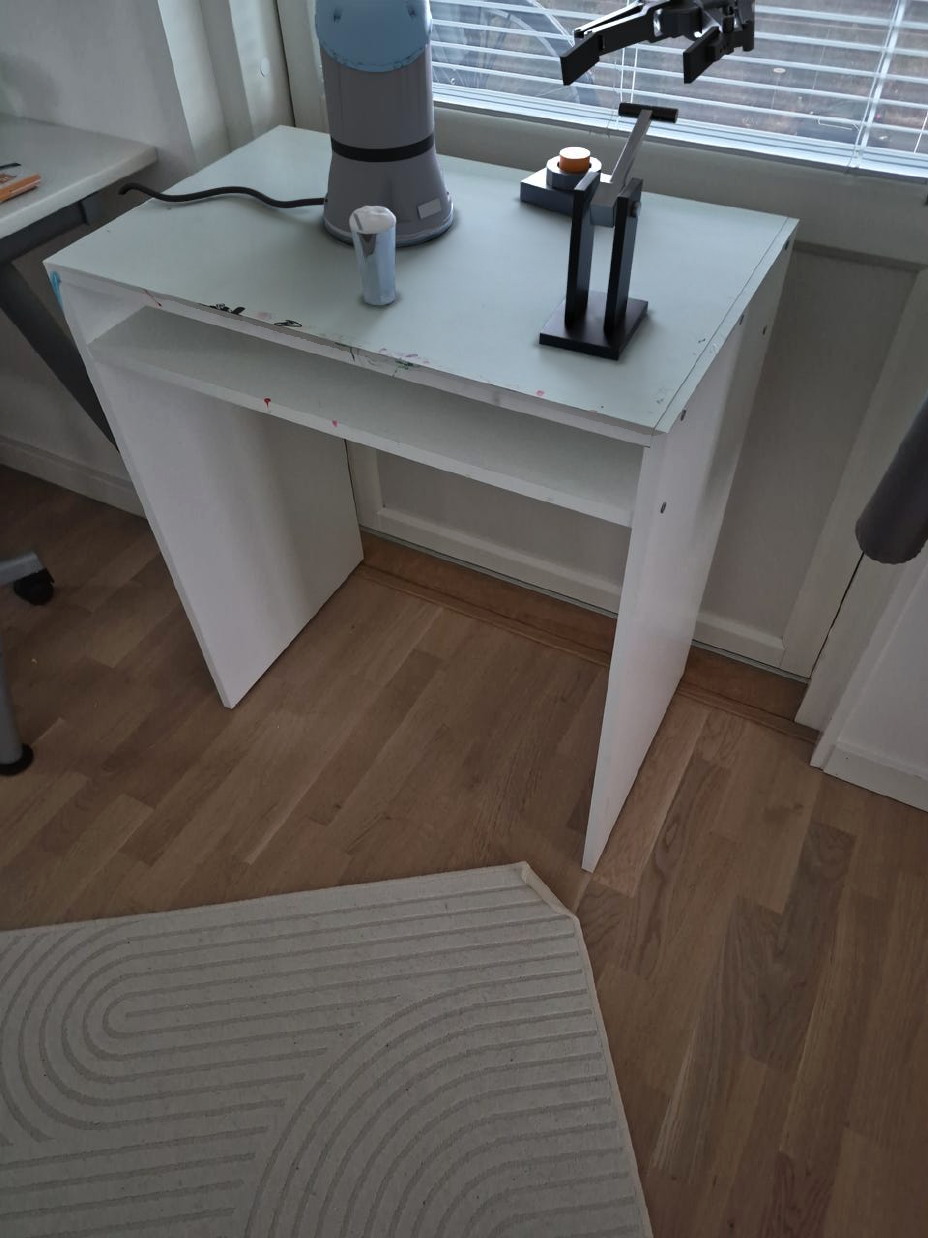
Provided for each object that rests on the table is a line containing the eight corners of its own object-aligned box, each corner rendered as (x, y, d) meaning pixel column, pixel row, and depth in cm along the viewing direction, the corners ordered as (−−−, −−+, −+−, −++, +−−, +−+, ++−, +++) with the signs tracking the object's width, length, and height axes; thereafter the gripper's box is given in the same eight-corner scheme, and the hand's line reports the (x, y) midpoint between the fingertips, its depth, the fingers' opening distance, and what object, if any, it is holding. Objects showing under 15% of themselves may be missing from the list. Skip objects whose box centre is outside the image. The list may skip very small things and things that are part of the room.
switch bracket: (572, 297, 92) (583, 156, 82) (647, 311, 90) (668, 169, 80) (538, 344, 86) (546, 198, 76) (617, 361, 84) (636, 213, 73)
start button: (553, 169, 106) (553, 153, 104) (570, 159, 107) (571, 144, 106) (578, 176, 104) (579, 160, 103) (594, 166, 106) (596, 151, 105)
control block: (519, 199, 108) (520, 165, 106) (557, 178, 113) (559, 145, 110) (587, 220, 104) (590, 185, 101) (624, 198, 108) (628, 163, 105)
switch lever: (621, 115, 85) (621, 92, 83) (677, 123, 83) (679, 99, 81) (572, 221, 80) (571, 200, 78) (631, 231, 79) (631, 209, 77)
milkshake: (345, 307, 91) (333, 208, 84) (371, 284, 95) (362, 187, 87) (384, 316, 90) (375, 217, 83) (409, 292, 93) (402, 195, 86)
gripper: (826, 24, 94) (743, 110, 84) (617, 34, 107) (525, 110, 97) (831, -61, 88) (744, 19, 79) (611, -40, 101) (512, 32, 92)
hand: (623, 69), depth 88 cm, fingers open, 13 cm apart
